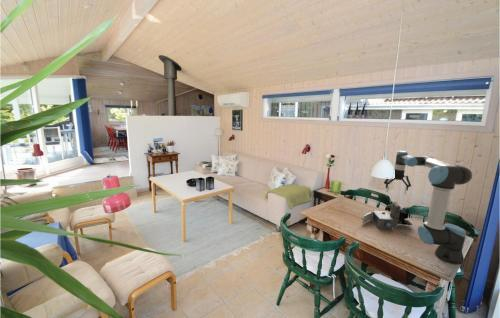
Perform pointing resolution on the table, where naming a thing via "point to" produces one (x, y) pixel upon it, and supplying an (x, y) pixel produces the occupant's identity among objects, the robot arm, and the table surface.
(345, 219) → the table surface
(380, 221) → the camera housing
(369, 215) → the side door
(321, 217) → the table surface
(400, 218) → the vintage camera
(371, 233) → the table surface
